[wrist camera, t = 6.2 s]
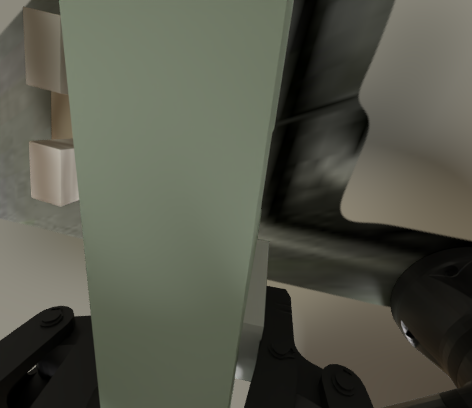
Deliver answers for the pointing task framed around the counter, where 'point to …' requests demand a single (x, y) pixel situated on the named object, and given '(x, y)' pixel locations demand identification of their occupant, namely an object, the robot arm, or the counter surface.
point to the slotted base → (55, 80)
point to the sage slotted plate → (171, 184)
